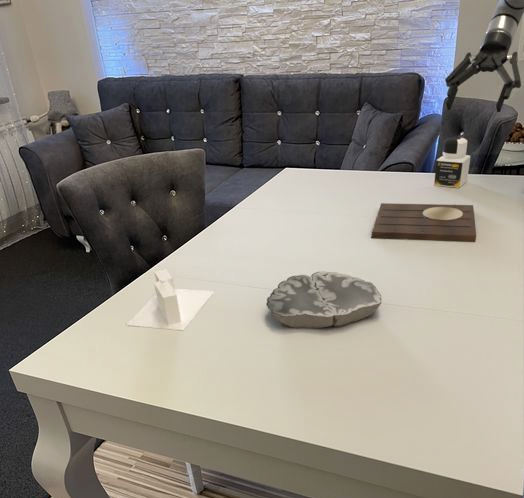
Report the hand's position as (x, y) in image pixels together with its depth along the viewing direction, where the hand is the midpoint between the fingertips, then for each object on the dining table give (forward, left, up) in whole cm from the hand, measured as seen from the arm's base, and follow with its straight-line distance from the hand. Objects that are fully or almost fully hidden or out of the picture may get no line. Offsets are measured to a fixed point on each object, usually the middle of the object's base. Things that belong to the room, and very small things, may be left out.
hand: (472, 108), depth 147 cm
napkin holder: (+53, +91, -18) cm, 107 cm away
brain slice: (+26, +87, -18) cm, 93 cm away
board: (+10, +43, -18) cm, 48 cm away
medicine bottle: (+4, +10, -18) cm, 21 cm away
